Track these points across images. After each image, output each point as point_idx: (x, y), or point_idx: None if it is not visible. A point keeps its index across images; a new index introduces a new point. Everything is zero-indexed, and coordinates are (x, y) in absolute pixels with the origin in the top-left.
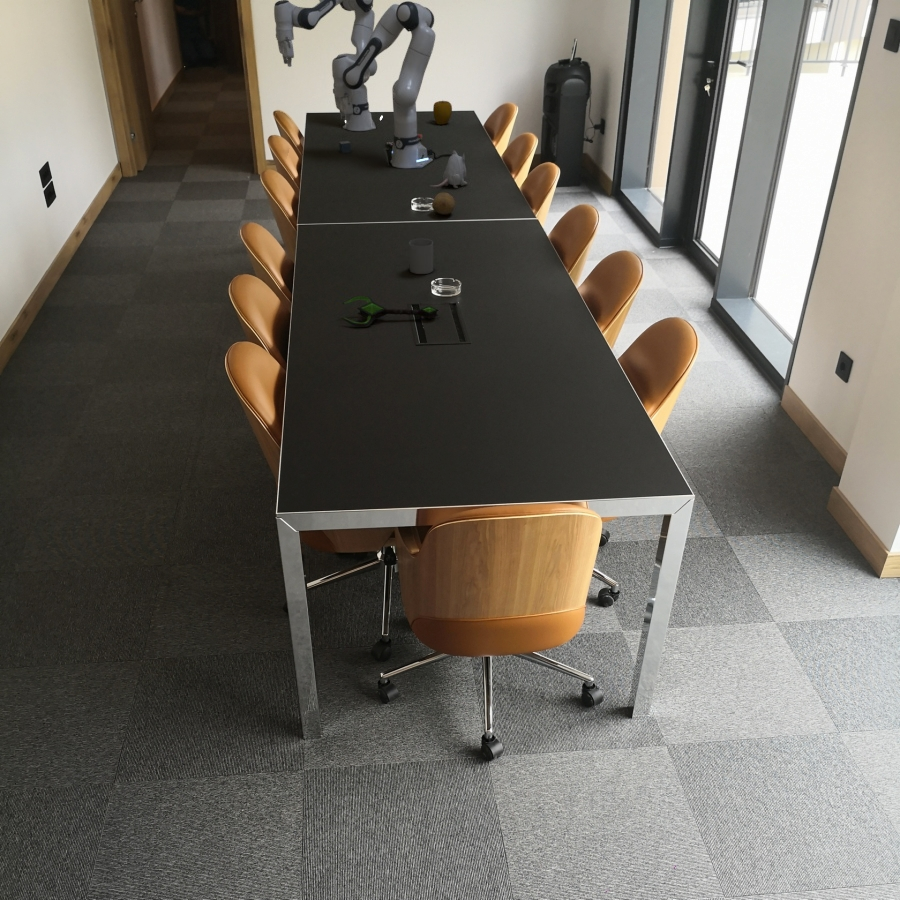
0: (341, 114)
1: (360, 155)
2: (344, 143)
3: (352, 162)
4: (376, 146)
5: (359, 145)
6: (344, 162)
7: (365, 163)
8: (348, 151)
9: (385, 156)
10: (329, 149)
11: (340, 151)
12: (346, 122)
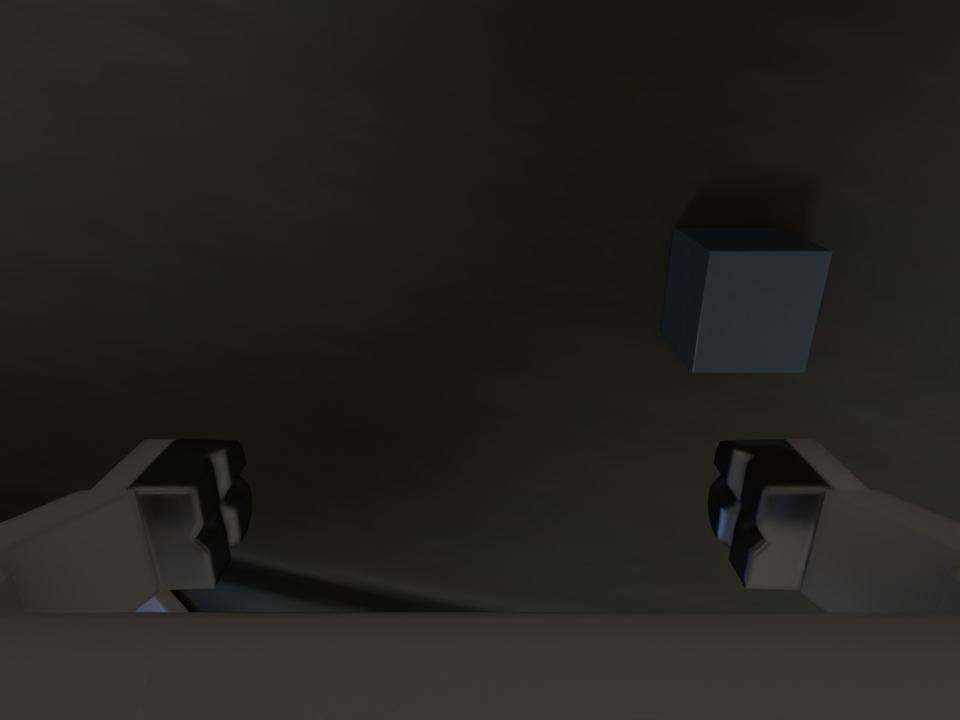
0: (866, 534)
1: (479, 386)
2: (703, 297)
3: (203, 229)
4: (749, 596)
5: (879, 480)
6: (220, 137)
7: (138, 347)
8: (666, 309)
9: (364, 570)
10: (920, 121)
11: (737, 227)
12: (165, 442)
